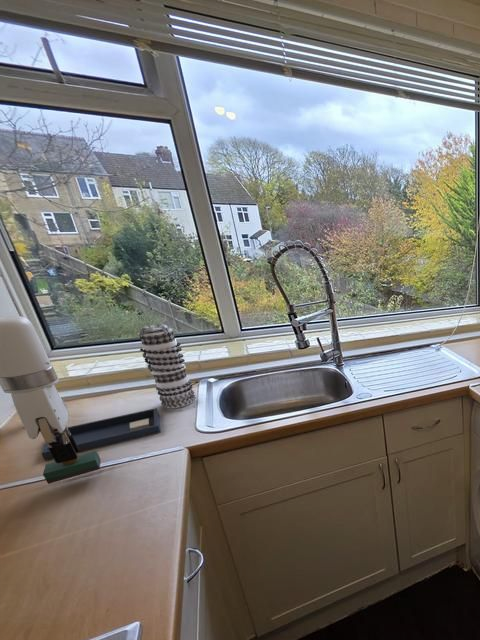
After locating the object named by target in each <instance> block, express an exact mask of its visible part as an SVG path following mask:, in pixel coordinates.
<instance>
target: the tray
mask: <svg viewBox="0 0 480 640" xmlns="http://www.w3.org/2000/svg"><path fill="white" fill-rule="evenodd" d="M144 419H149V421H150V427H146V428H142V429H138V430H133V431H131V430H130V423H131V422H136V421H140V420H144ZM67 427H68V429H69V431H70V433H71V435H72V436H73V438H74V440H75V442H76V444H77V446H78V448H79V452H77V453H81V452H86V451H89V450H94V449H98V448H102V447H107V446H110V445H114V444H115V445H116V444H118V443H124V442H126V441H131V440H135V439H139V438H144V437H147V436H152V435H156V434H159V433H161V421H160V412H159V410H158V407H155V408H151V409H146V410H141V411H137V412H131V413H128V414H127V413H126V414H122V415H118V416H113V417H109V418H104V419H98V420H94V421H90V422H86V423H81V424H75V425H72V426H71V425H70V426H67ZM71 435H69V436H71ZM77 453H76V454H77ZM40 454H41V456H42V458H43V460H44V461H49V460H54V458H53V456H52V454H51V452H50V450H49V448H48V446H47V444H46V443H45V442H44V445H43V447H42V450H41V453H40Z"/></svg>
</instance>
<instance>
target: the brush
mask: <svg viewBox="0 0 480 640" xmlns="http://www.w3.org/2000/svg"><path fill="white" fill-rule="evenodd" d="M63 432H64V434H65V437H66V439H67V441H68V442H70V440H69V438H68V436H67V434H66V432H65V431H63ZM54 436H55V437H56V436H59V435H54ZM59 437H60V436H59ZM101 462H102V461H101V457H100V455H99V453H98V451H97V450H94V451H93V450H92V451H90V452H86V453H82V454H79V455H78V454H77V459H74V460H70V461H66V462H62V463H56V462H55V461H51V462H47V463H45V466H44V469H43V472H42V475H43V478H44V479H45V481H46V483H47V484H48V485H49V484H50V485H51V484H52V483H56V482H60V481H63V480H67V479H70V478H74V477H78V476H82V475H85V474H88V473H92V472H95V471H99V470H101Z"/></svg>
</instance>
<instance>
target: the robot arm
mask: <svg viewBox="0 0 480 640" xmlns="http://www.w3.org/2000/svg"><path fill="white" fill-rule="evenodd" d="M59 381H60V380H59V377H58V375H57V373H56V371H55V369H54V367H53V365H52V363H51V360H50V357H49V356H48V354H47V352H46V350H45V348H44V345H43V343H42V341H41V339H40V337H39V335H38V333H37V331H36V328H35V327H34V324H33V323H32V321H31V320H30V319H28V318H27V317H25V316H20V315H4V316H0V388H1V389H2V391H3V392H4V393H5V394H10V396H11V400H12V402H13V405H14V407H15V410H16V413H17V414H18V417H19V419H20V422H21V423H22V426H23V428H24V430H25V432H26V435H27V437H28V438H29V439H31V440H35V439H37V438H38V437H39V434H41V436H42V438H43V441H44V444H45V443H46V444H47V446H48V448H49V450H50V452H51V454H52V456H53V460H54V462H56V463H62V462H66V461H70V460H74V459H77V456H78V454H77V452H78V453H80V452H79V448H78V446H77V444H76V442H75V440H74V438H73V436H72V435H71V433H70V431H69V429H68V427H69V426H68V421H69V413H67V410H66V408H65V405H64V403H65V402H64V403H63V401H64V400H63V398H62V397H61V395H60V393H59V391H58V389H57V388H56V384H57V383H59ZM54 385H55V386H54ZM62 400H63V401H62ZM63 431H65V432H66V434H67V436H68V438H69V440H70V442H68V441H67V439H66V437H65V434H64V432H63ZM54 435H59V436H60V437H59V436H56V437H55V436H54ZM69 435H71V436H69Z"/></svg>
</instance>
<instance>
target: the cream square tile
mask: <svg viewBox="0 0 480 640" xmlns="http://www.w3.org/2000/svg"><path fill="white" fill-rule="evenodd" d="M146 427H150V421H149V419H144V420H140V421H136V422H131V423H130V430H131V431H133V430H138V429H142V428H146Z"/></svg>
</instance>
